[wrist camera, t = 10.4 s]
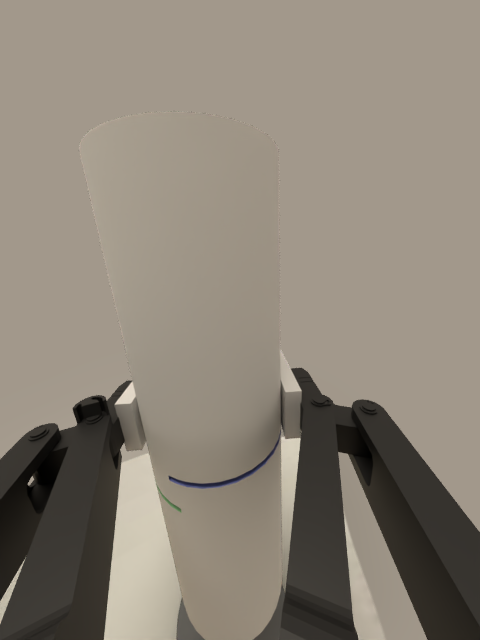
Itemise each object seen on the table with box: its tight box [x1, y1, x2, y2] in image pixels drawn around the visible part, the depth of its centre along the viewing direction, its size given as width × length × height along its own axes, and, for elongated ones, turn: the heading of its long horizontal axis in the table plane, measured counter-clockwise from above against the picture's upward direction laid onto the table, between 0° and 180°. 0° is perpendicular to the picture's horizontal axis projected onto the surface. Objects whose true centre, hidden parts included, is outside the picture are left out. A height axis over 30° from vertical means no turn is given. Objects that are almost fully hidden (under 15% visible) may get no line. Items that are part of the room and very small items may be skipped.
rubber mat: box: [177, 584, 285, 640], centre depth 18 cm, size 9×9×1 cm
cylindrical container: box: [79, 111, 282, 640], centre depth 13 cm, size 7×7×25 cm
